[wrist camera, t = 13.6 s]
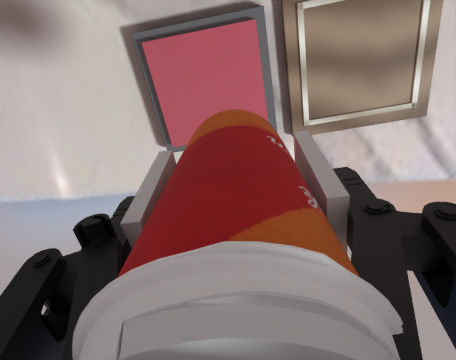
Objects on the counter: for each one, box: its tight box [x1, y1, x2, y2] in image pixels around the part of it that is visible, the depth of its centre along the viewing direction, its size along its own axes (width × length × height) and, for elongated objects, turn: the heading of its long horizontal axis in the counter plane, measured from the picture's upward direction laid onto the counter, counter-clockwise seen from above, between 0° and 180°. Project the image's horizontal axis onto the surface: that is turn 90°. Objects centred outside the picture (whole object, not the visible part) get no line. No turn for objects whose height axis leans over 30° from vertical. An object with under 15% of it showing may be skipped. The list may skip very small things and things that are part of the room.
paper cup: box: [72, 109, 403, 360], centre depth 12 cm, size 8×8×14 cm
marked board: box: [281, 0, 443, 138], centre depth 33 cm, size 16×16×1 cm
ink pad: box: [132, 6, 277, 152], centre depth 34 cm, size 14×14×2 cm
